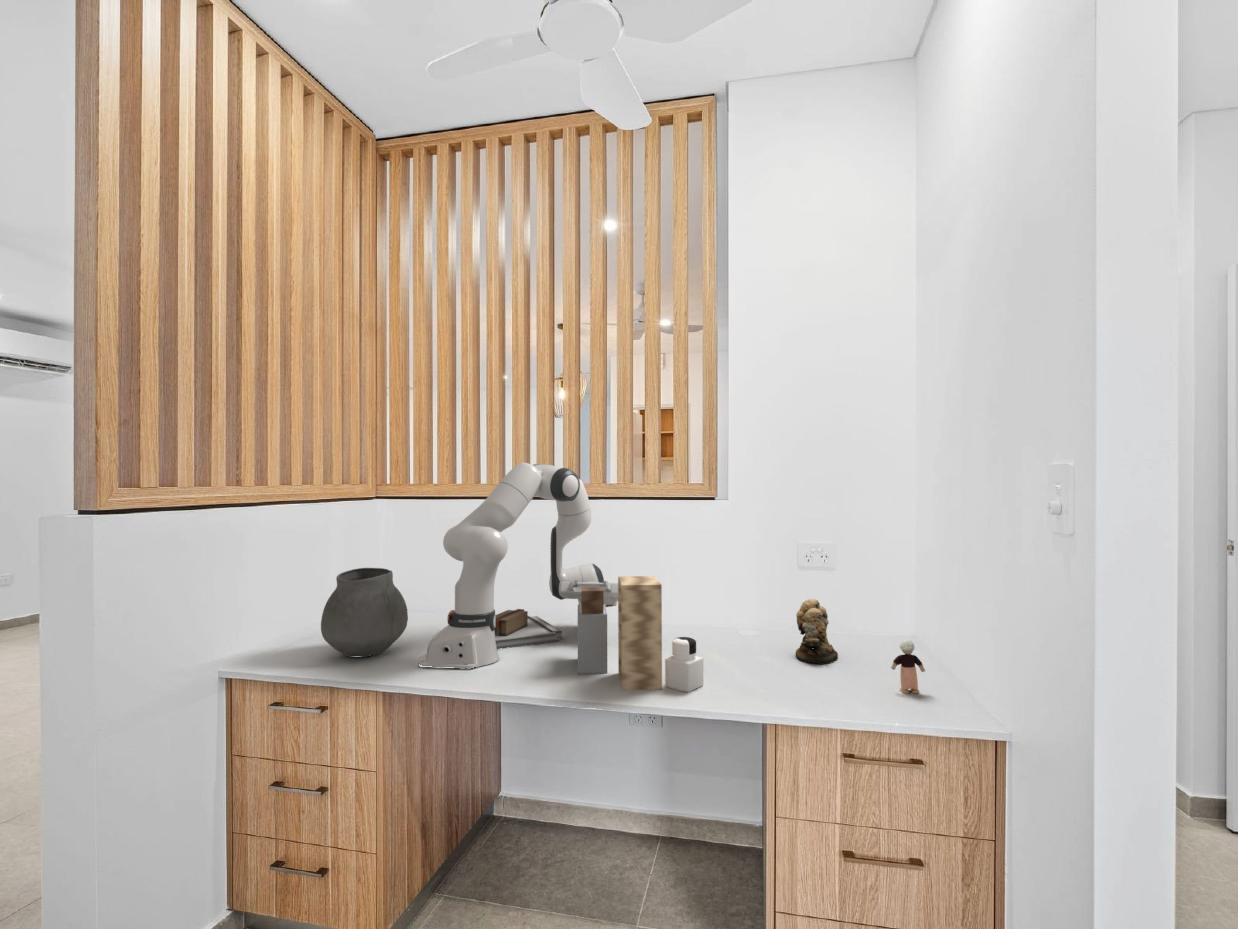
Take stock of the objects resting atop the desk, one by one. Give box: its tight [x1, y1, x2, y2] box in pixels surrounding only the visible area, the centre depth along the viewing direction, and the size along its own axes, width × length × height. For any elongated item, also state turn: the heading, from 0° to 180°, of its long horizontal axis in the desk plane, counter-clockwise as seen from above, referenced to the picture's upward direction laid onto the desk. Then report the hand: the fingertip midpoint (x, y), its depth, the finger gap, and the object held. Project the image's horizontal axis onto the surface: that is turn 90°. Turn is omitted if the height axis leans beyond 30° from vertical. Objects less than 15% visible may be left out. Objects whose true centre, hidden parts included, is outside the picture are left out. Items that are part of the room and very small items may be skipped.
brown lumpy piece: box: [795, 598, 839, 665], centre depth 186 cm, size 18×12×17 cm, turn 159°
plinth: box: [577, 604, 608, 675], centre depth 177 cm, size 8×14×16 cm, turn 4°
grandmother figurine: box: [890, 639, 926, 694], centre depth 155 cm, size 8×4×13 cm, turn 92°
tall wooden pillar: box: [617, 575, 663, 691], centre depth 164 cm, size 10×14×26 cm
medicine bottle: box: [664, 636, 704, 693], centre depth 160 cm, size 7×7×12 cm
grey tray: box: [494, 608, 563, 650], centre depth 212 cm, size 30×30×8 cm
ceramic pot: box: [320, 567, 409, 657], centre depth 190 cm, size 24×24×25 cm
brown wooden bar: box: [581, 587, 604, 613], centre depth 180 cm, size 6×18×6 cm, turn 4°
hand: (590, 583), depth 196 cm, fingers open, 8 cm apart
